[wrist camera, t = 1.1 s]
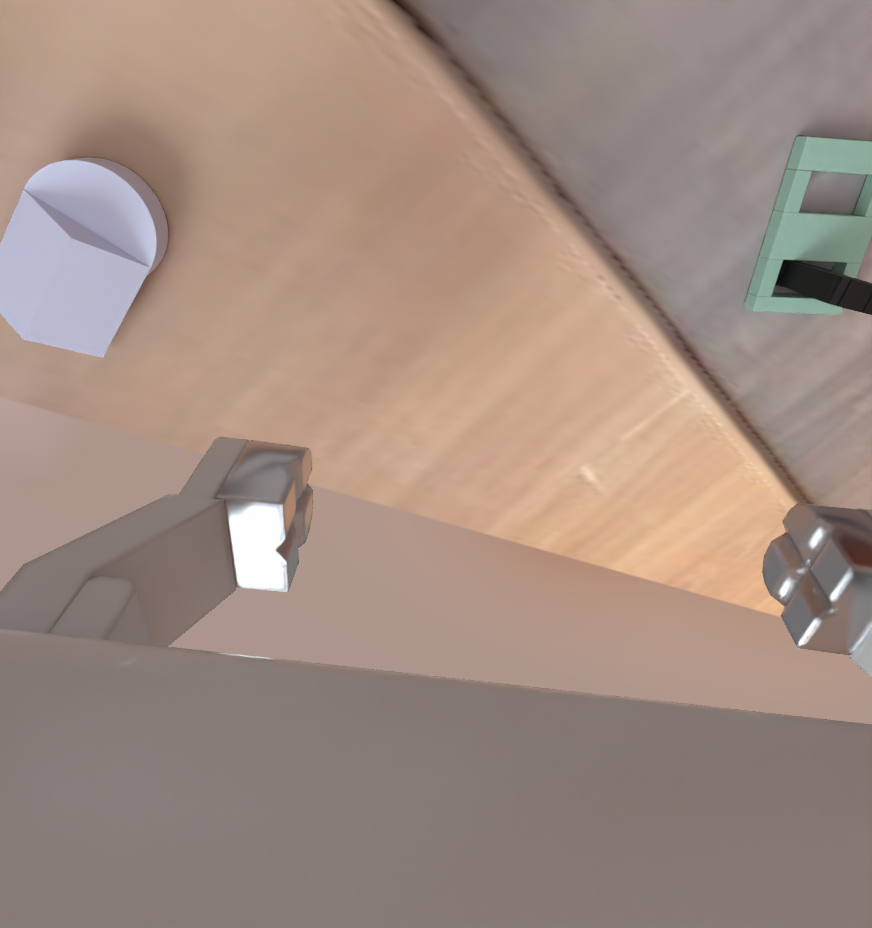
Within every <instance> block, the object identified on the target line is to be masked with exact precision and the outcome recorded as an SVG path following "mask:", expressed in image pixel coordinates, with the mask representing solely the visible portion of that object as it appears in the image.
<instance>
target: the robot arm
mask: <svg viewBox="0 0 872 928" xmlns="http://www.w3.org/2000/svg"><path fill="white" fill-rule="evenodd" d="M311 471H312V457H311V451H310V449H309V448H306V447H298V446H291V445H283V444H276V443H268V442H261V441H253V440H251V441H249V440H245V439H236V438H227V437H219V438H217V439H215V440H214V441H213V443H212V445H211V446H210V448H209V449H208V451H207V452H206V454H205V455H204V457H203V459H202V460H201V462H200V463H199V464H198V466H197V468H196V469H195V471H194V472H193V474H192V475H191V477H190V478H189V480H188V481H187V483H186V484H185V486H184V487H183V489H182V490H181V492H180V493H179V495H177V494H168V495H166V496H164V497H162V498H160V499H158V500H156V501H154V502H152V503H150V504H147V505H145V506H143V507H141V508H139V509H137V510H135V511H133V512H131V513H129V514H127V515H125V516H123V517H121V518H119V519H117V520H114V521H112V522H110V523H109V524H106V525H104V526H102V527H100V528H98V529H96V530H94V531H92V532H90V533H88V534H86V535H84V536H81V537H79V538H77V539H75V540H73V541H71V542H69V543H67V544H65V545H63V546H61V547H59V548H57V549H55V550H53V551H51V552H48V553H46V554H44V555H42V556H40V557H38V558H36V559H34V560H32V561H30V562H28V563H26V564H24V565H23V566H22V567H21V568H20V569H19V570H18V572H17V573H16V574H15V575H14V576H13V577H12V579H11V580H10V581H9V582H8V583H7V584H6V586H5V587H4V588H3V589H2V590H1V591H0V928H872V724H863V723H854V722H845V721H835V720H827V719H818V718H809V717H801V716H791V715H783V714H774V713H765V712H756V711H746V710H738V709H729V708H720V707H711V706H702V705H694V704H684V703H674V702H666V701H657V700H648V699H639V698H630V697H620V696H611V695H602V694H592V693H583V692H575V691H566V690H557V689H547V688H538V687H529V686H520V685H511V684H502V683H493V682H483V681H474V680H465V679H456V678H446V677H438V676H428V675H420V674H410V673H402V672H393V671H383V670H374V669H365V668H356V667H347V666H338V665H329V664H320V663H311V662H302V661H293V660H283V659H274V658H265V657H256V656H247V655H238V654H229V653H220V652H211V651H202V650H192V649H183V648H175V647H168V646H169V645H170V644H171V643H172V642H174V641H175V640H176V639H177V638H178V637H180V636H181V635H182V634H183V633H185V632H186V631H187V630H188V629H189V628H191V627H192V626H193V625H194V624H195V623H197V622H198V621H199V620H200V619H201V618H203V617H204V616H205V615H206V614H208V613H209V612H210V611H211V610H212V609H214V608H215V607H216V606H217V605H218V604H220V603H221V602H222V601H223V600H225V599H226V598H227V597H228V596H229V595H231V594H232V593H233V592H234V591H235V590H236V587H239V588H251V589H263V590H275V591H287V592H288V591H289V588H290V585H291V583H292V580H293V577H294V574H295V571H296V568H297V565H298V563H299V560H298V548H299V547H300V546H302V545H303V544H304V543H305V542H306V539H307V536H308V533H309V529H310V524H311V518H312V509H313V490H312V488H311V487H310V486H309V485H308V484H307V482H308V479H309V476H310V474H311ZM783 524H784V528H785V531H786V533H784V534H783V535H781V536H779V537H778V538H776V539H774V540H773V541H771V543H770V545H769V547H768V549H767V551H766V553H765V555H764V561H763V571H762V572H763V577H764V582H765V585H766V587H767V589H768V591H769V593H770V595H771V596H772V597H774V598H775V599H776V600H777V601H779V602H780V603H781V604H782V605H784V606H785V607H784V610H783V612H782V614H781V617H782V619H783V621H784V622H785V625H786V626H787V629H788V630H789V632H790V634H791V636H792V638H793V640H794V642H795V644H796V646H797V648H800V649H808V650H815V651H822V652H830V653H837V654H844V655H851V656H850V657H849V658H850V659H851V660H852V661H854V662H855V663H856V664H857V665H858V666H859V667H860V668H861V669H862V670H863V671H864V672H865V673H866V674H867V675H868V676H870V677H871V678H872V510H867V509H858V510H857V509H848V508H838V507H828V506H818V505H808V504H798V503H797V504H796V505H795V506H794V507H793V508H791V509H790V510H789V512H788V513H787V515H786V517H785V518H784V520H783Z"/></svg>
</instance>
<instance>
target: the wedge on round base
mask: <svg viewBox="0 0 872 928" xmlns="http://www.w3.org/2000/svg"><path fill="white" fill-rule="evenodd" d="M167 244H168V225H167V219H166V216H165V213H164V210H163V208H162V206H161V203H160V202H159V200H158V198H157V197H156V195H155V193H154V192H153V191H152V189H151V188H150V187H149V186H148V185H147V184H146V183H145V182H144V181H143V180H142V179H141V178H140V177H139V176H138V175H137V174H135V173H134V172H132V171H131V170H129V169H128V168H126V167H124V166H122V165H120V164H118V163H116V162H113V161H110V160H106V159H102V158H94V157H86V158H77V159H71V160H64V161H59V162H55V163H52V164H49V165H47V166H45V167H43V168H42V169H40V170H39V171H37V172H36V173H35V174H34V175H33V176H32V177H31V179H30V180H29V181H28V182H27V184H26V186H25V188H24V190H23V192H22V195H21V197H20V199H19V202H18V204H17V206H16V209H15V211H14V213H13V216H12V218H11V220H10V223H9V225H8V227H7V230H6V232H5V234H4V237H3V239H2V241H1V244H0V314H1V315H2V316H3V317H4V318H5V319H6V321H7V322H8V323H9V324H10V325H11V326H12V327H13V328H14V330H15V331H16V332H17V333H18V334H19V335H20V336H21V337H22V338H23V340H28V341H32V342H36V343H41V344H45V345H49V346H54V347H58V348H62V349H67V350H71V351H76V352H80V353H84V354H89V355H93V356H97V357H102V358H103V356H104V355H105V353H106V351H107V349H108V347H109V345H110V343H111V341H112V340H113V338H114V336H115V334H116V332H117V330H118V328H119V326H120V324H121V323H122V321H123V319H124V317H125V315H126V313H127V311H128V309H129V308H130V306H131V304H132V302H133V300H134V298H135V296H136V294H137V292H138V291H139V289H140V287H141V285H142V283H143V281H144V279H145V277H146V276H147V275H148V274H150V273H151V272H152V271H153V270H154V269H155V268H156V267H157V266H158V265H159V263H160V262H161V260H162V259H163V257H164V254H165V252H166V248H167Z"/></svg>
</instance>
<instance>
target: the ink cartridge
mask: <svg viewBox="0 0 872 928" xmlns="http://www.w3.org/2000/svg"><path fill="white" fill-rule="evenodd" d="M775 285H778V286H782V287H786V288H788V289H791V290H794V291H796V292H799V293H801V294H804V295H807V296H809V297H812V298H814V299H817V300H819V301H822V302H825V303H828V304H831V305H835V306H838V307H842V308H846V309H850V310H855V311H859V312H863V313H867V314H871V315H872V283H869V282H866V281H863V280H859V279H856V278H853V277H850V276H847V275H843V274H840V273H837V272H834V271H831V270H827V269H824V268H820V267H816V266H812V265H808V264H804V263H801V262H797V261H793V260H783V263H782V265H781V268H780V271H779V274H778V277H777V280H776V284H775Z"/></svg>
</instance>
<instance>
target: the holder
mask: <svg viewBox="0 0 872 928" xmlns="http://www.w3.org/2000/svg"><path fill="white" fill-rule="evenodd" d="M812 171H822V172H837V173H851V174H865V175H867V178H866V180H865V183H864V186H863V188H862V191H861V194H860V197H859V199H858V202H857V205H856V207H855V210H854V213H853V214H854V215H852V214H835V213H818V212H802V211H799V210H800V207H801V204H802V201H803V198H804V195H805V192H806V189H807V186H808V183H809V180H810V177H811V173H812ZM871 238H872V141H861V140H848V139H836V138H823V137H810V136H796V139H795V142H794V145H793V148H792V152H791V155H790V158H789V161H788V165H787V169H786V171H785V174H784V177H783V181H782V184H781V187H780V190H779V194H778V197H777V200H776V203H775V207H774V210H773V212H772V216H771V219H770V222H769V225H768V229H767V232H766V235H765V238H764V242H763V245H762V248H761V251H760V255H759V258H758V261H757V264H756V268H755V271H754V274H753V277H752V281H751V284H750V287H749V290H748V294H747V297H746V300H745V304H744V308H746V309H748V310H750V311H752V312H779V313H808V314H837V315H841V314H842V312H843V309H844V308H842V307H838V306H835V305H831V304H828V303H825V302H822V301H819V300H817V299H814V298H812V297H809V296H807V295H804V294H780V293H773V290H774V287H775V284H776V280H777V277H778V274H779V271H780V268H781V265H782V262H783V260H801V261H822V262H835V264H834V267H833V270H832V271H834V272H837V273H840V274H843V275H847V276H850V277H853V278H856V276H857V274H858V271H859V269H860V266H861V263H862V261H863V258H864V256H865V253H866V251H867V248H868V245H869V243H870V240H871Z"/></svg>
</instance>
